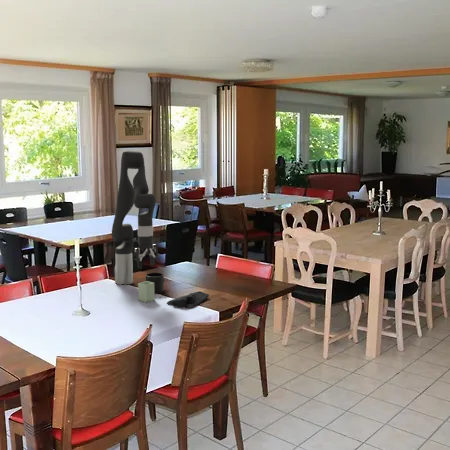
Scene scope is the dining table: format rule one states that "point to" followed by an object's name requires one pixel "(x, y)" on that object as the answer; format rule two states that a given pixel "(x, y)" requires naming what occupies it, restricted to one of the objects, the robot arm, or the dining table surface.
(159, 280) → the mug
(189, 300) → the dark slate chunk
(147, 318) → the dining table surface
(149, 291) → the pale green block
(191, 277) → the dining table surface
